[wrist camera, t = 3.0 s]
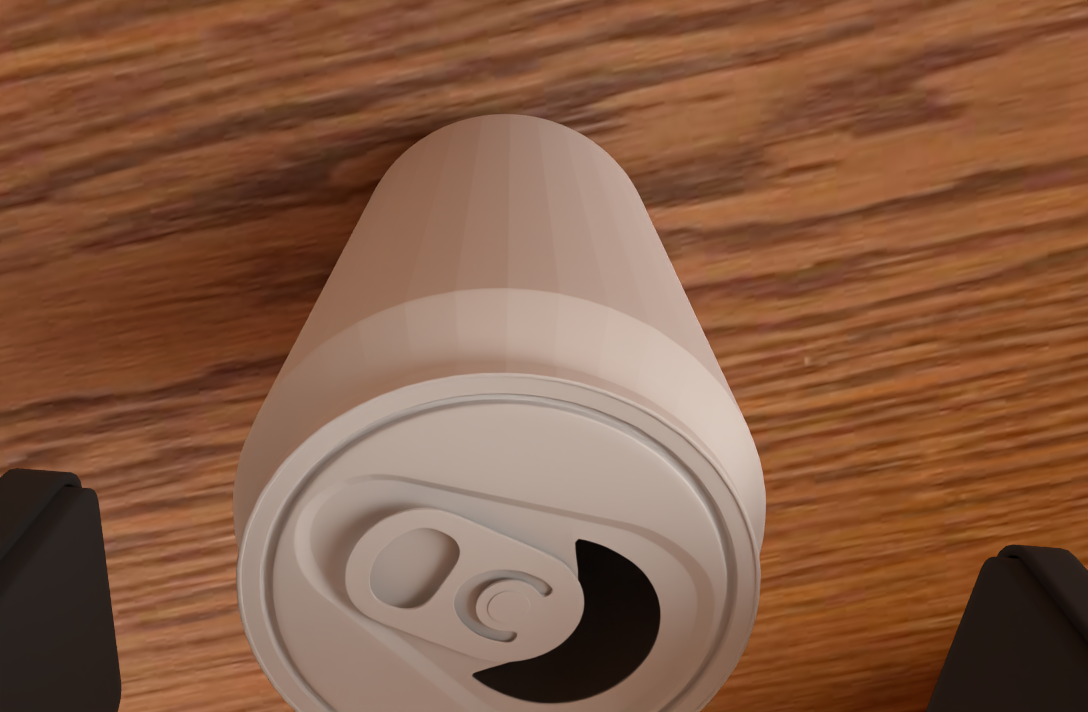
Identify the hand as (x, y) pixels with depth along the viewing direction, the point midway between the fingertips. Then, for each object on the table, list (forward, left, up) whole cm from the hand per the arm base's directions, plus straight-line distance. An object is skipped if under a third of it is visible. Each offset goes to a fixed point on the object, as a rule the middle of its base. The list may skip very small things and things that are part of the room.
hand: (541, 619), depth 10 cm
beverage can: (0, 0, -12) cm, 12 cm away
